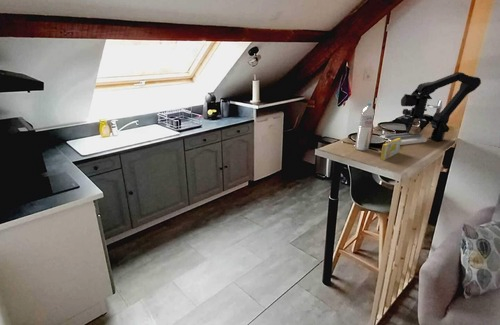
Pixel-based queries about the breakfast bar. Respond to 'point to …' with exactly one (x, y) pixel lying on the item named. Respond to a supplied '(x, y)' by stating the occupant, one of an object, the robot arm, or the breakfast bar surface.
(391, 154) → the candy box
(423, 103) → the robot arm
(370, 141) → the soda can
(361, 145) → the water bottle
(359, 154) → the breakfast bar surface
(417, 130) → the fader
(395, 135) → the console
